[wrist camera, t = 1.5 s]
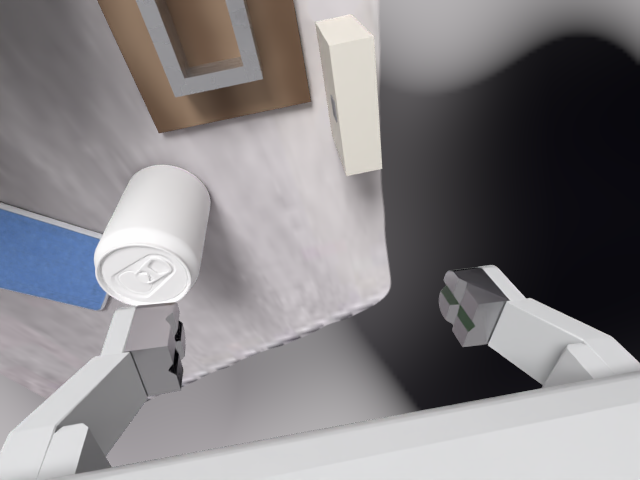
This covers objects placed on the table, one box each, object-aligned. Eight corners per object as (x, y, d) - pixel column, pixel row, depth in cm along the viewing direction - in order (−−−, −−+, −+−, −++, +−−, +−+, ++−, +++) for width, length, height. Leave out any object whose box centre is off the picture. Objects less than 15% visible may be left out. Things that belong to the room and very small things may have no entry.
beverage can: (111, 193, 38) (65, 277, 29) (164, 145, 36) (133, 220, 27) (175, 239, 43) (153, 324, 34) (227, 199, 41) (218, 279, 31)
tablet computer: (-89, 260, 41) (-97, 269, 40) (-92, 167, 35) (-103, 175, 34) (105, 306, 49) (102, 314, 48) (131, 237, 43) (127, 245, 42)
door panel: (352, 13, 31) (375, 36, 25) (362, 128, 38) (383, 168, 31) (313, 21, 31) (327, 46, 25) (330, 135, 38) (345, 176, 31)
